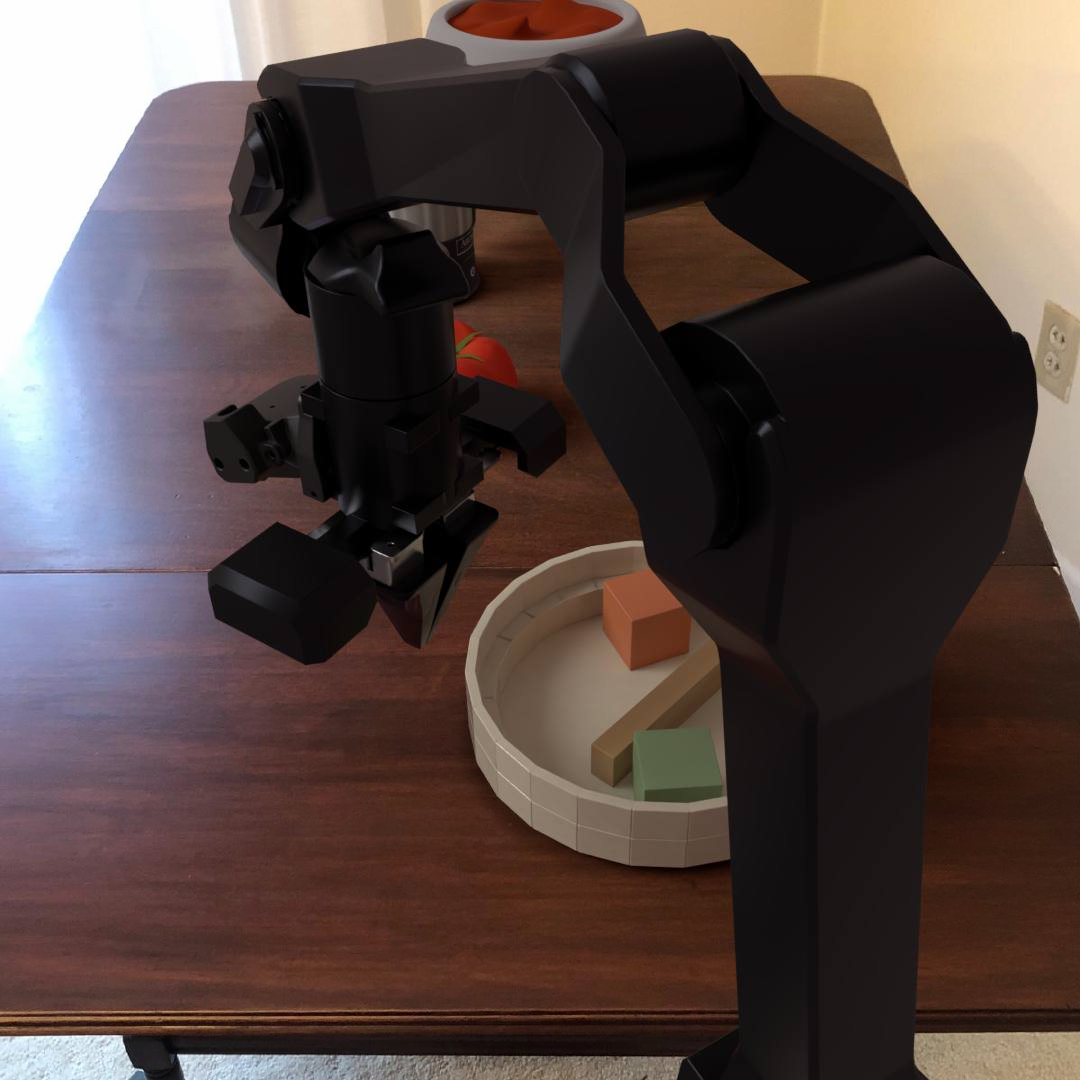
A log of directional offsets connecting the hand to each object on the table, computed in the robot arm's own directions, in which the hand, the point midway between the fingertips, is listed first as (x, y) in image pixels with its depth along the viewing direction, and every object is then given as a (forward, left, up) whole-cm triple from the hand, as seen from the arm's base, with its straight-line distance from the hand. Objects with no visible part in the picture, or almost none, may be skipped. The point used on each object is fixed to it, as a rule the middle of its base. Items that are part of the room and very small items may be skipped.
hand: (416, 641), depth 60 cm
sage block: (-5, -12, -10) cm, 17 cm away
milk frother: (+63, -5, -11) cm, 64 cm away
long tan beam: (+2, -14, -10) cm, 17 cm away
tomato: (+36, -6, -11) cm, 38 cm away
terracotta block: (+8, -14, -10) cm, 20 cm away
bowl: (+2, -13, -11) cm, 17 cm away
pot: (+85, -23, -11) cm, 89 cm away
